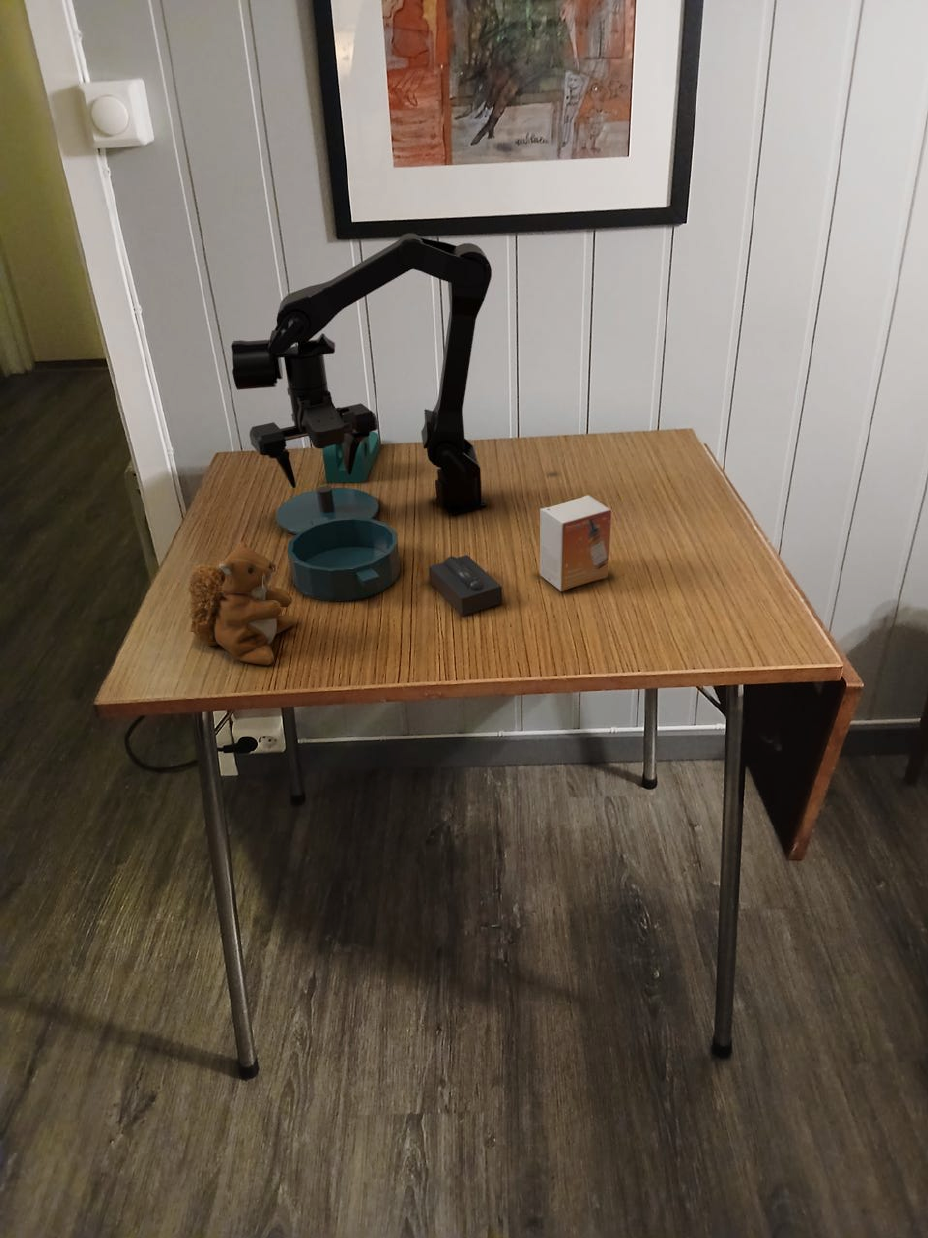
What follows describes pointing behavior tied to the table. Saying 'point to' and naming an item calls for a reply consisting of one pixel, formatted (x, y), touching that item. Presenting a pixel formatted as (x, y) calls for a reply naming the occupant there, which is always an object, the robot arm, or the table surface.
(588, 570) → the small box
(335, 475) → the bracket
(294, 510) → the lid
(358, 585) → the pot
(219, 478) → the table surface
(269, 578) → the stuffed squirrel
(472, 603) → the dark grey block
